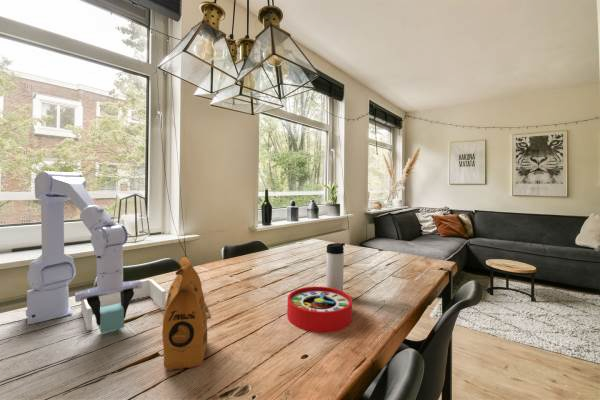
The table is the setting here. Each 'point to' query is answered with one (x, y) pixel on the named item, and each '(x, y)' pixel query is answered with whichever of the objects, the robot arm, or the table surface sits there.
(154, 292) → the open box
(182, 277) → the coffee package
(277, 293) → the table surface
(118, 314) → the teal block
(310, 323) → the toy clock
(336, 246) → the travel mug
